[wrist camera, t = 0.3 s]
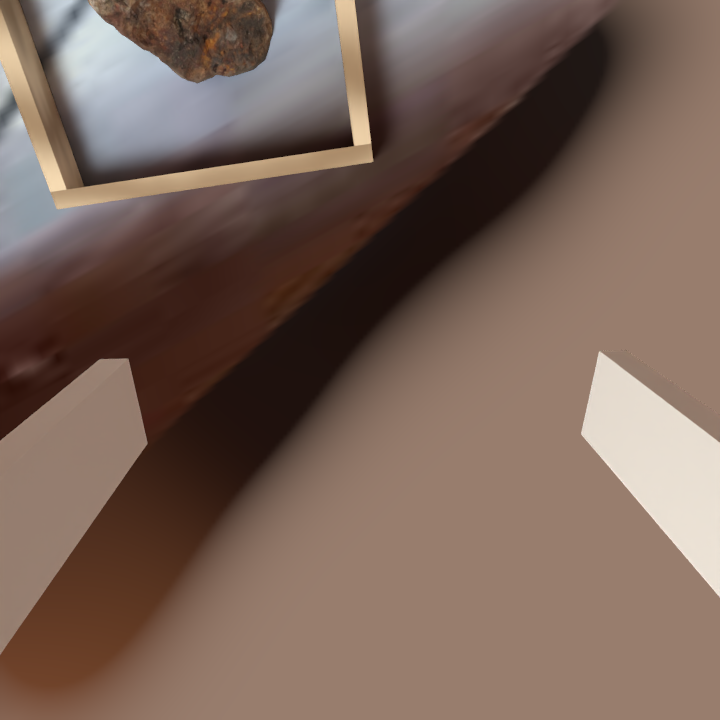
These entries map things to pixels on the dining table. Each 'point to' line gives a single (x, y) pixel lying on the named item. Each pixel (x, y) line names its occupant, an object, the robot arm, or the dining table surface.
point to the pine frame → (37, 107)
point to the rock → (194, 33)
